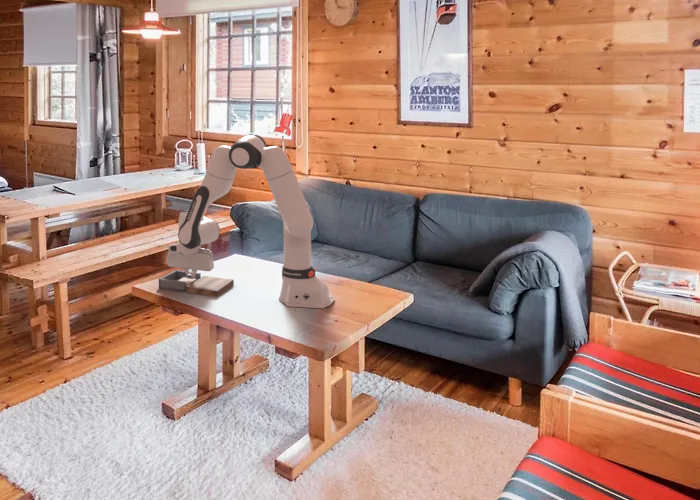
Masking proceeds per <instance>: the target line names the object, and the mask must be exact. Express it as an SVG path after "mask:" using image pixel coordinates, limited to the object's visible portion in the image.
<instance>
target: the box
mask: <svg viewBox="0 0 700 500" xmlns="http://www.w3.org/2000/svg"><path fill="white" fill-rule="evenodd" d="M189 273H190V274H192V273H193V272H192V271H189ZM183 277H186V278H187V275H186V273H185V272H184V270H180V269H179V270H178V269H175V270H173V271H171V272H169V273H167V274H165V275H164V276H162V277H160V278H159V279H158V289H163V290H170V291H178V292H184V293H186V282H184V281H178V280H180V279H181V278H183ZM201 277H202V274H201V272H196V274H195V278H194V279H196V280H198V279H200V278H201Z"/></svg>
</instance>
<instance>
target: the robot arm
mask: <svg viewBox="0 0 700 500" xmlns="http://www.w3.org/2000/svg"><path fill="white" fill-rule="evenodd" d="M257 168H259V169H261V170H262V172H263V175H264V177H265V179H266V182H267V184H268V187H269V189H270V192H271V193H272V197H273V199H274V202H275V205H276V206H277V209H278V212H279V214H280V216H281V219H282V222H283V265H282V269H281V278H282V283H281V284H282V285H281V290H280V295H279V296H278V300H279V301H280V302H281V303H283V304H285V306H286V307H293V308H309V309H310V308H311V309H325V307H327V306H329V305H331V304H332V303H334V302H335V298H334V295H331V294H330V291H329V288H328V285H327V284H326V283H325V282H324V281H322V280H321V279H320V278H319V277H318V276H316V271H317V267H315V268H314V267H313V266H312V233H311V231H312V230H313V227H314V218H313V216H312V213H311V210H310V209H309V206H308V203H307V201H306V198H305V195H304V194H303V191H302V189H301V186H300V183H299V182H298V179H297V177H296V173H295V171H294V169H293V166H292V164H291V161H290V160H289V157H288V155H286V153H285V151H284V150H283V148H282V147H281V146H277V145H273V146H268V147H267V142H266V140H265V139H264V138H263V137H262V136H261V135H259V134H254V133H251V134H246V135H245V136H243V137H240V138H239V139H237V140H236V141H235V142H234V143H232V144H231V146H228V145H219V146H217V147H216V148H214V150H213V151H212V154H211V156H210V158H209V161H208V164H207V168H206V171H205V175H204V176H203V177H204V178H203V179H202V181H201V183H200V185H199V187H198V188H197V190H196V191H195V193H194V196H193V198H192V200H191V203H190V205H189V209H183V210H181V211H180V213H179V215H178V233H177V236H178V237H177V238H178V241H177V242H174V243H171V244H169V245H168V247H167V250H168V252H167V253H166V264H167V266H168V267H169V268H178V269H183V271H184V272H185V273H186V275H187V279H194V278H195V274H196V273H198V271H202V272H211V271H212V270H213V269H214V268H215V265H214V253H213V251H212V250H210V249H209V248H202V246H203V245H207V244H209V243H212V242H215V241H217V240H218V239H219V238H220V234H221V230H220V229H221V228H220V225H219V223H218V222H217V221H216V220H214V219H211V218H208V217H206V216H205V213H206V211H207V210H208V207H209V206H210V205H212V203H213V202H215V201H217V200H218V199H220V198H222V197H223V196H225V195H226V194H229V192H230V190H231V189H232V186H233V184H234V181H235V177H236V173H237V169H241V170H242V169H243V170H245V169H257ZM189 270H191V272H193V273H192V274H190V273H189V272H190V271H189ZM333 301H334V302H333ZM332 305H333V304H332ZM332 305H331V306H332ZM329 307H330V306H329ZM327 308H328V307H327Z"/></svg>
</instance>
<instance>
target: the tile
mask: <svg viewBox="0 0 700 500" xmlns="http://www.w3.org/2000/svg"><path fill="white" fill-rule="evenodd" d="M178 281H184V282H186V286H188V285H190V284H191V283H193V282H195V281H196V279H187V278H186V277H183V278H181V279H180V280H178Z"/></svg>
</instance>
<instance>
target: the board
mask: <svg viewBox="0 0 700 500" xmlns="http://www.w3.org/2000/svg"><path fill="white" fill-rule="evenodd" d="M234 285H235V284H234V279H232V278H231V279H230V278H224V277H216V276H206V275H203V276H201V278H200V279H198V280H196V281H195V282H193V283H191V284H190V285H188V286H186V291H185V293H187V294H194V295H201V296H202V295H203V296H210V297H218V296H220V295H222V294H223V293H224V292H226V291H227V290H229V289H230V288H231V287H234Z"/></svg>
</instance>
